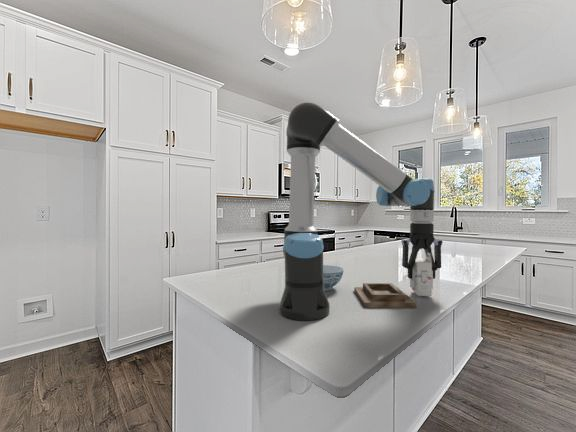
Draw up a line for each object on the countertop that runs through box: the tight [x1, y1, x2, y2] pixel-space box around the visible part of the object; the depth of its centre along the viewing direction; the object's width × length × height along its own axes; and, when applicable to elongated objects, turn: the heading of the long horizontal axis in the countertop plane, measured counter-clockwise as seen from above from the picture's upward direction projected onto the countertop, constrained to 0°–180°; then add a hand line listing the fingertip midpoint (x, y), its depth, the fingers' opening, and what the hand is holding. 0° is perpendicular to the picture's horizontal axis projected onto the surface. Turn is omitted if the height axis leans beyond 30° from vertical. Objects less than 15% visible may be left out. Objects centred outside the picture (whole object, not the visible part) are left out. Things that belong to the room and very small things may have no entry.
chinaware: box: [323, 264, 345, 292], centre depth 114 cm, size 15×15×8 cm
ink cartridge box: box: [411, 252, 433, 297], centre depth 103 cm, size 9×5×15 cm, turn 169°
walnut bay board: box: [353, 282, 417, 309], centre depth 100 cm, size 16×18×4 cm
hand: (421, 287), depth 103 cm, fingers closed on ink cartridge box, 5 cm apart
